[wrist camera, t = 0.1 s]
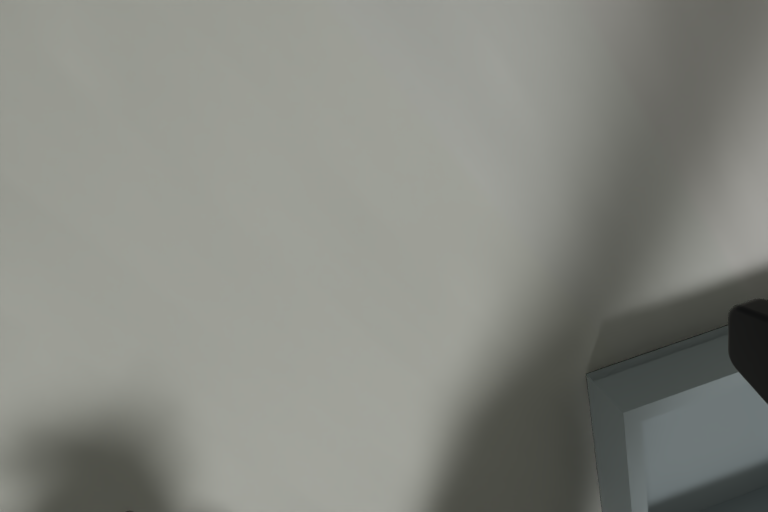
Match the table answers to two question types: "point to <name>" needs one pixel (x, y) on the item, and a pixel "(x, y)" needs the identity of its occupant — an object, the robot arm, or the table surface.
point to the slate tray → (679, 431)
